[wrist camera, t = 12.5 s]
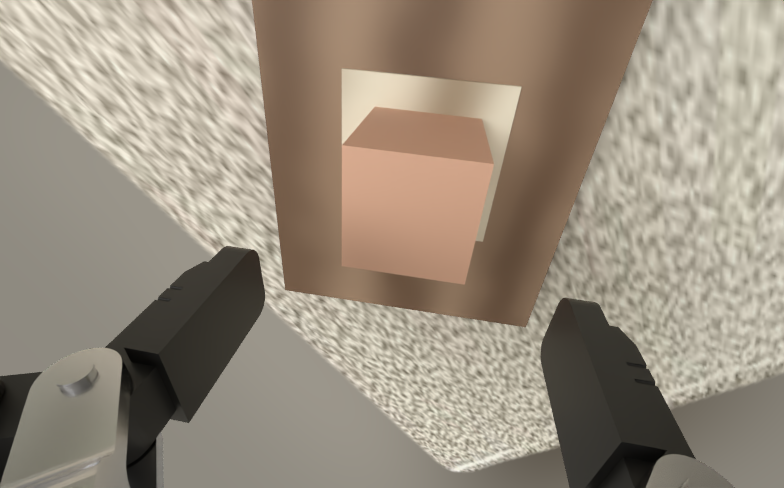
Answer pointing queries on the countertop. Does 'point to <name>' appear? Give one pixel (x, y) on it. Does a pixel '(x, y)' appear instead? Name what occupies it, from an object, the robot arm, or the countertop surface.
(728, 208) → the countertop surface
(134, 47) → the countertop surface
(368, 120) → the block
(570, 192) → the plinth
